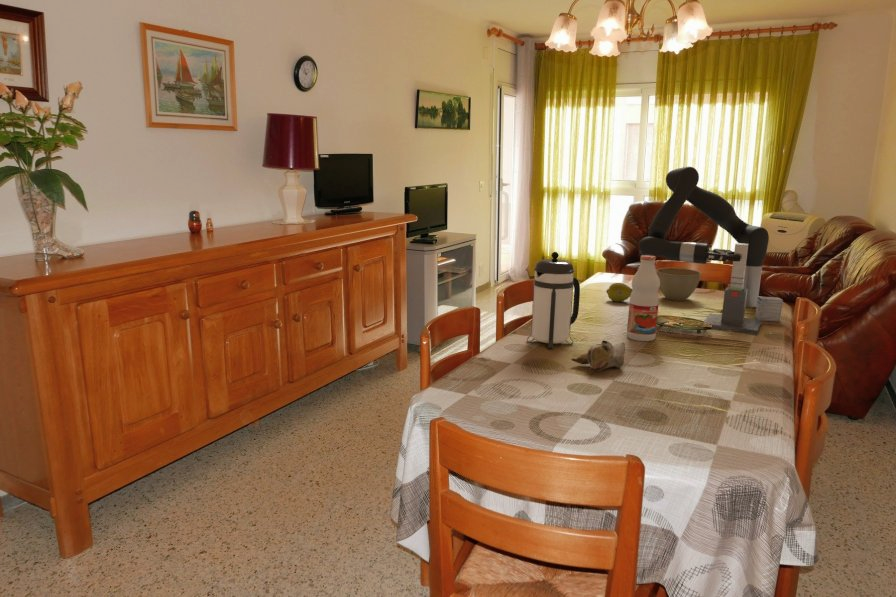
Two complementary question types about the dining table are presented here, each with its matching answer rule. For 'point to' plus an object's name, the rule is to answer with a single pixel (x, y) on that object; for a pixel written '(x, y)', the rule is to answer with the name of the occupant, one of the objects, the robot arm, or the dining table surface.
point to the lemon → (619, 292)
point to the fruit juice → (644, 301)
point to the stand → (734, 314)
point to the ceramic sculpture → (603, 356)
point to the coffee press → (554, 301)
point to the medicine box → (768, 308)
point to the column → (739, 267)
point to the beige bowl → (678, 282)
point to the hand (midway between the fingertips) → (741, 257)
